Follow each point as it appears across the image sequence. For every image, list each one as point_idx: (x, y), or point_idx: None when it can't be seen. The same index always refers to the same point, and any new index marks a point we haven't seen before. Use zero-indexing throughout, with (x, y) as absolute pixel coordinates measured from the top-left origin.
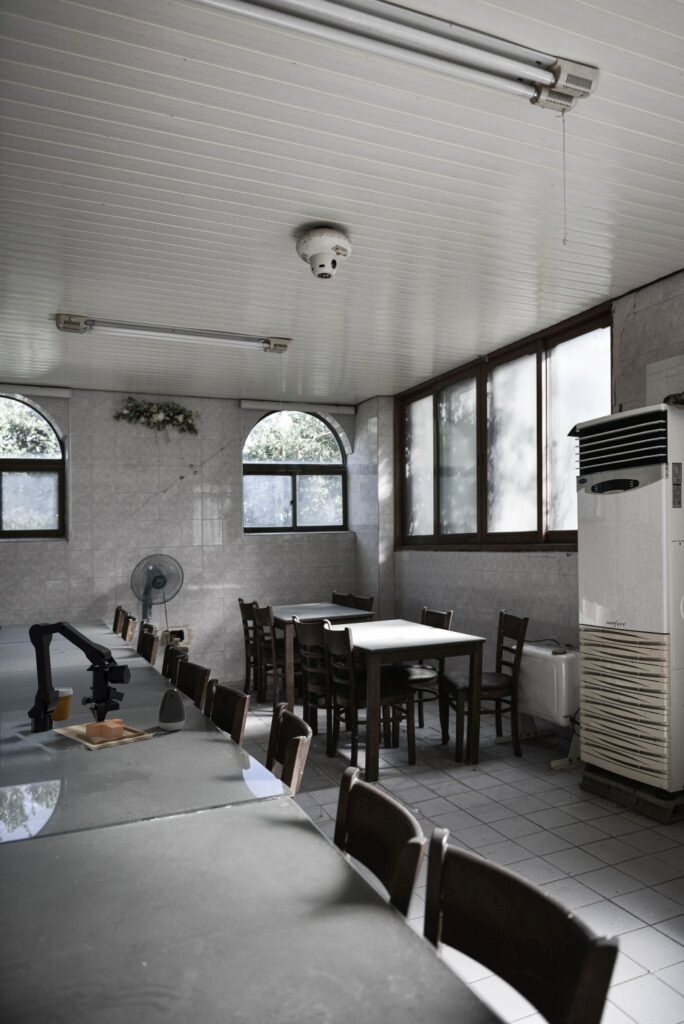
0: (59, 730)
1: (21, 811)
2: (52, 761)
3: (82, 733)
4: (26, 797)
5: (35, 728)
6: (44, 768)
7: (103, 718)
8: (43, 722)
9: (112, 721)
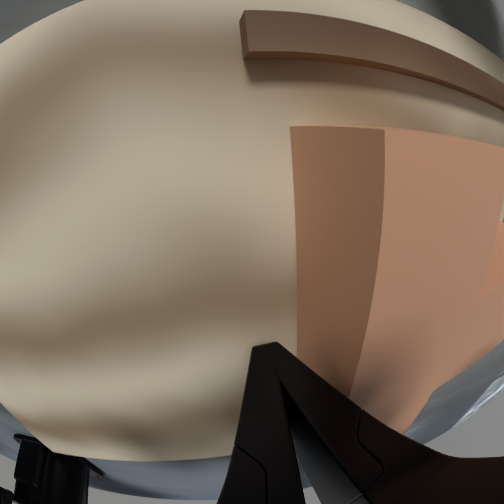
0: (74, 448)
1: (498, 392)
2: (431, 419)
3: (211, 415)
4: (487, 399)
5: (86, 490)
6: (445, 417)
7: (359, 423)
8: (81, 502)
9: (462, 295)
